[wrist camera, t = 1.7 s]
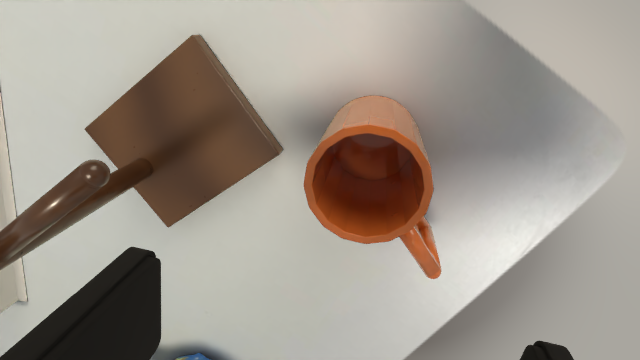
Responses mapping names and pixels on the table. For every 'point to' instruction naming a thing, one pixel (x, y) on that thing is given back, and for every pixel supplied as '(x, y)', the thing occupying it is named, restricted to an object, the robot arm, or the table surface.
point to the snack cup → (193, 357)
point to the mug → (374, 179)
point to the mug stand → (156, 149)
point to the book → (9, 281)
